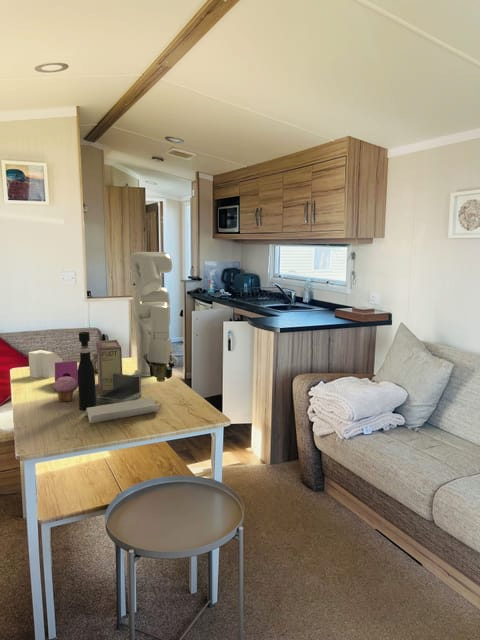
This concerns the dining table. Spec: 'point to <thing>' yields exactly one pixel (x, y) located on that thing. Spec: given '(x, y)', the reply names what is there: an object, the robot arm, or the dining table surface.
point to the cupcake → (65, 388)
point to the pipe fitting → (95, 361)
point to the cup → (159, 371)
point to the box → (108, 363)
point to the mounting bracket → (66, 370)
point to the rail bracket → (122, 390)
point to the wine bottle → (86, 375)
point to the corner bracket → (43, 363)
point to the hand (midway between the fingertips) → (160, 376)
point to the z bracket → (121, 410)
